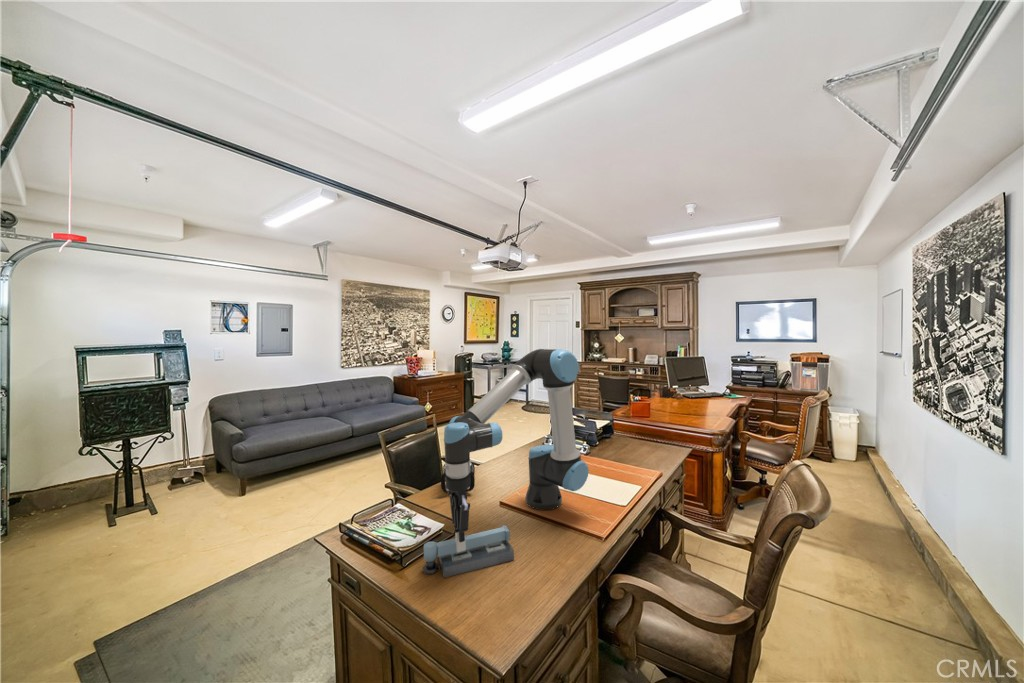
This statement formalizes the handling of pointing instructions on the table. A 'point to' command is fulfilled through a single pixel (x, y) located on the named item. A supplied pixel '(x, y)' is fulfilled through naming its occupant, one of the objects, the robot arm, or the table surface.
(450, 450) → the robot arm
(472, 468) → the black pot
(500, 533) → the hole punch handle
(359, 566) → the table surface
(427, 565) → the black short cylinder
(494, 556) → the block
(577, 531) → the table surface
